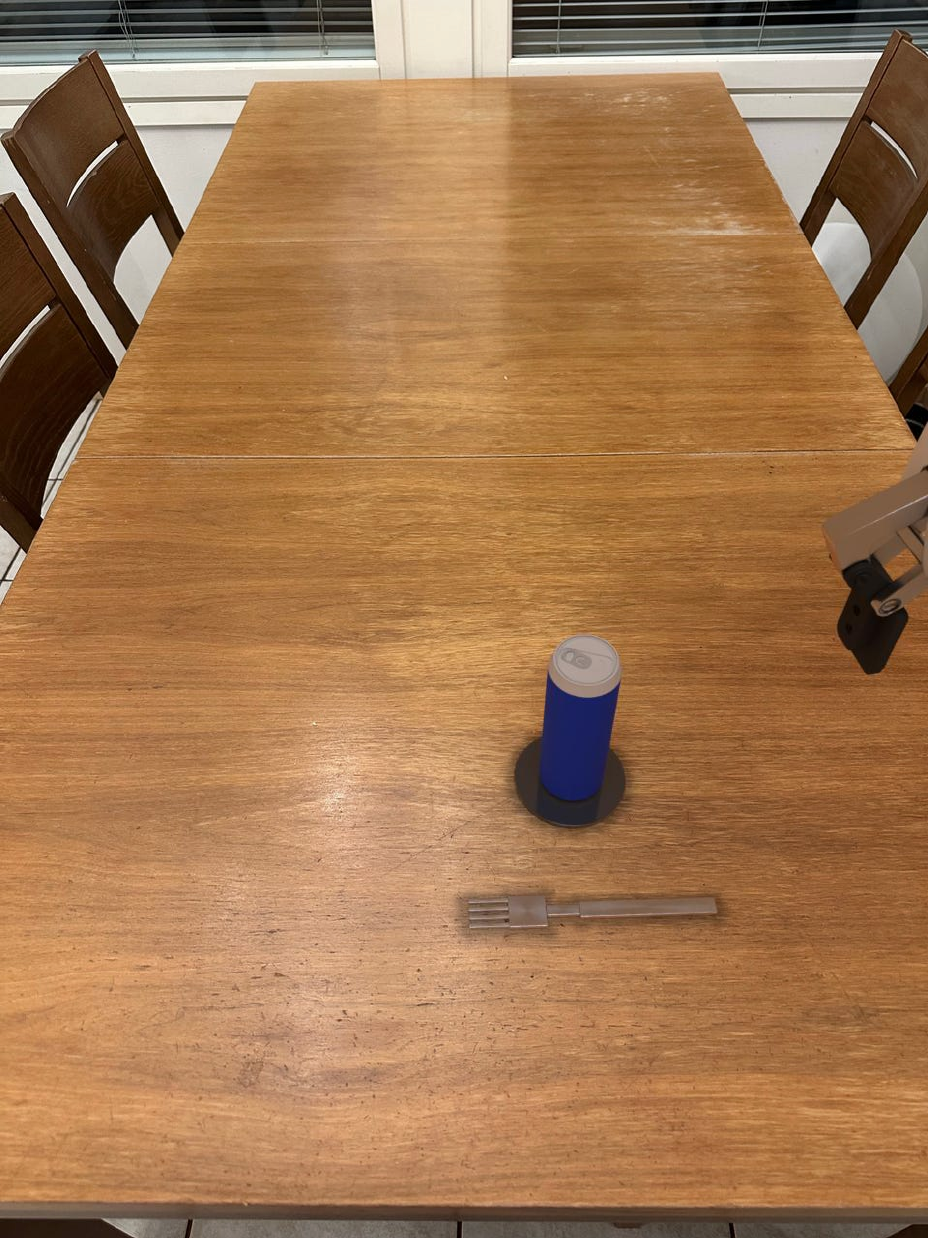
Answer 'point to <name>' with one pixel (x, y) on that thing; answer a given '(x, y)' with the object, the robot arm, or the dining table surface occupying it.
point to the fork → (582, 910)
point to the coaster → (566, 810)
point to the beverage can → (578, 716)
